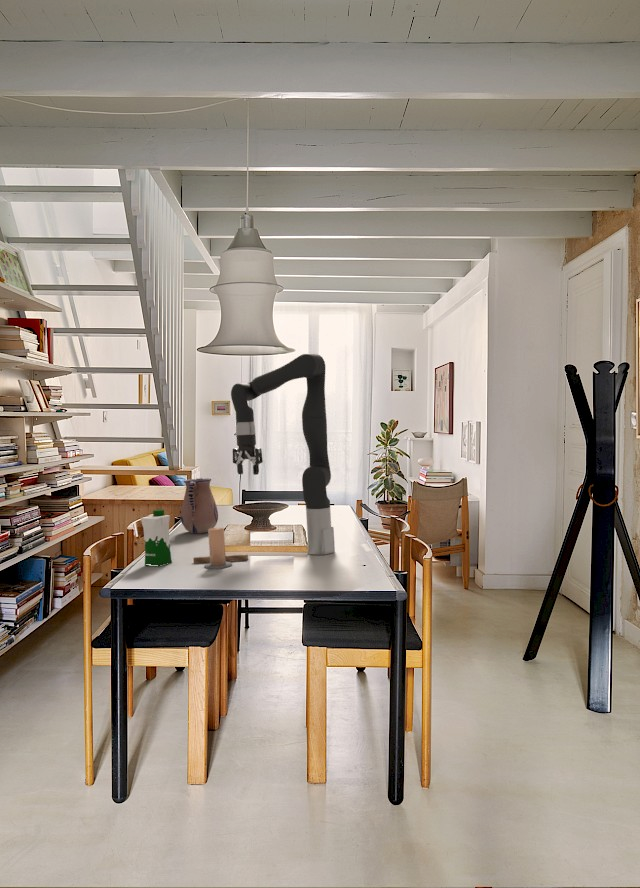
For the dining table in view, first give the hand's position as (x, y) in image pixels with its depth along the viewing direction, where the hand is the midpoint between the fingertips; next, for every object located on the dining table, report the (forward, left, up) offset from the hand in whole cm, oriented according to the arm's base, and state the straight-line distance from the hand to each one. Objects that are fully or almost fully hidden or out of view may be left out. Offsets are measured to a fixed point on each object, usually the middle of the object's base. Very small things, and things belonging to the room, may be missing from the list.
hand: (248, 474), depth 286 cm
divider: (-5, +22, -30) cm, 38 cm away
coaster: (-10, +28, -30) cm, 42 cm away
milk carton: (+14, +36, -30) cm, 49 cm away
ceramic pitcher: (+54, -20, -30) cm, 65 cm away
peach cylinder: (-10, +28, -30) cm, 42 cm away
